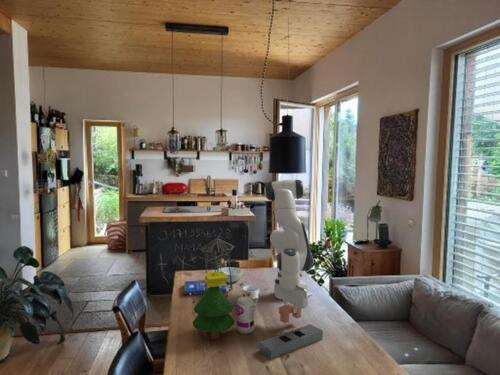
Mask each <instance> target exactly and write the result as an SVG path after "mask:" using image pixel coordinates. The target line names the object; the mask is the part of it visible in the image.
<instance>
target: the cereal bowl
mask: <svg viewBox="0 0 500 375" xmlns="http://www.w3.org/2000/svg"><path fill="white" fill-rule="evenodd" d="M230 270H231V279H232V284H233V283H235V282H237V281H240V279H241V278H242V277H243V276H242V275H243V270H242V269H241V268H239V267H231V266H230ZM222 271H223V272H224V273H225V274H226V275H227V276H228V278H227V279H226V280H225V281H224V282H225V283H226V284H227V283H228V284H230V271H229V266H227V267H221V272H222ZM219 272H220V268H219Z"/></svg>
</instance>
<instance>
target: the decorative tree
mask: <svg viewBox="0 0 500 375" xmlns="http://www.w3.org/2000/svg"><path fill="white" fill-rule="evenodd" d="M204 275H205V277H206V276H207V279H206V280H205V279H204V284H205V283H206V284H207V286H208V287H207V290H206V292H205V291H204V293H203V294H202V296H201V297H200V299H199V300H198V302H197V303H196V304H195V306H193V311H194V312H195V314H197V316H196V317H195V318H194V319H193V321H192V323H191V324H192V327H194V328H195V330H198V331H200V332H203V333H205V338H207V339H209V340H215V339H219V338H221V337H222V332H224V331H227V330H229V329H230V328H231V329H232V327H233V326H235V320H234V318H233V317H232V315H231V314H230V313H231V312H233V310H234V305H233V304H232V303H231V301H230V300H229V298H228V297H227V296H226V295H225V294H224V293H225V292H222V288H220V287H222V286H223V287H224V286H228V284H227V283H226V282H224V281H225V280H226V279H227V278H228V276H227V275H226V274H225V273H224V272H223V271H222V272H217V271H216V272H215V271H213V272H207V273H206V272H205V273H204Z"/></svg>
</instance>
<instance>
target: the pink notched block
mask: <svg viewBox="0 0 500 375" xmlns="http://www.w3.org/2000/svg"><path fill="white" fill-rule="evenodd" d="M292 308H294V306H293V304H292V303H288V304H287V305H284V304H283V305H282V306H279V307H278V314H279V315H280V316H279V319H280V320H279V321H280V322H281V323H284V324H287V323H289V322H290V314H291V315H292V317H293V318H295V319H300V318H301V317H302V309H303V308H300V307H298V308H297V312H296V313H293V312H292Z"/></svg>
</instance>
